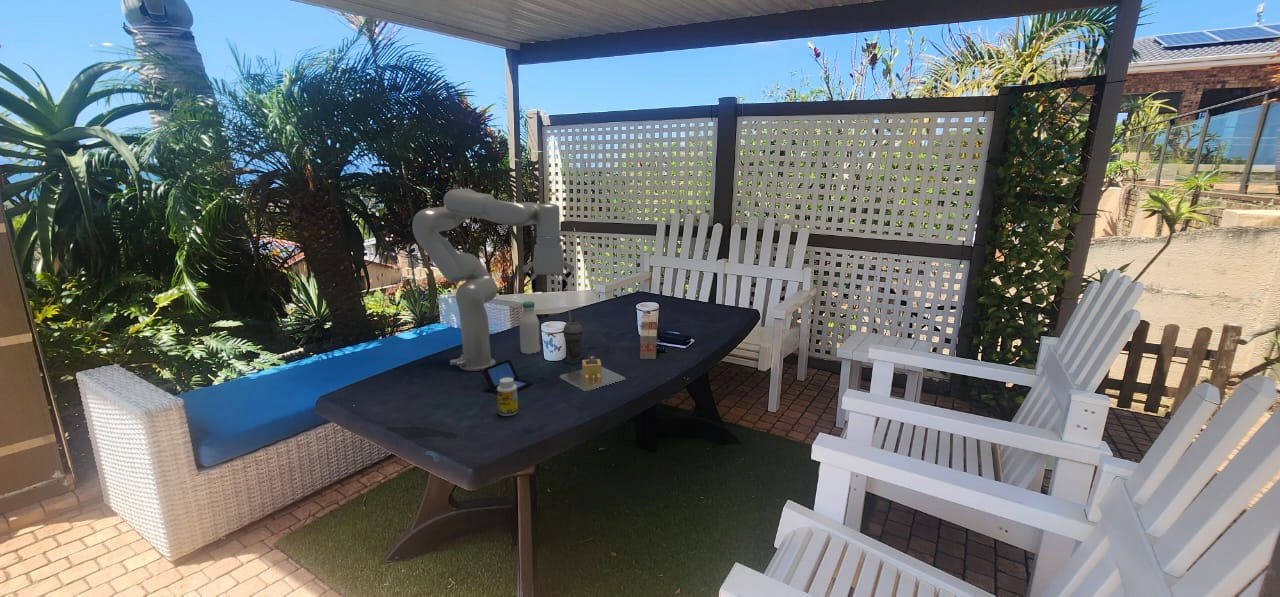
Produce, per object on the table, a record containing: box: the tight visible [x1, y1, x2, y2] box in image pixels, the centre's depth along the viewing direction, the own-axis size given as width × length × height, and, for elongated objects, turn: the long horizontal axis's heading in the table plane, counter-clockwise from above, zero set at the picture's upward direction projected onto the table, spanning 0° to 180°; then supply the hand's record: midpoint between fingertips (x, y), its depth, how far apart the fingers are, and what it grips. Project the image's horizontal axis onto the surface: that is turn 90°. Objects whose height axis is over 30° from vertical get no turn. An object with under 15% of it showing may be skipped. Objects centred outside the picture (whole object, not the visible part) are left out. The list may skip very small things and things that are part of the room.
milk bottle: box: [519, 300, 541, 355], centre depth 209 cm, size 8×8×20 cm
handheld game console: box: [482, 359, 534, 395], centre depth 173 cm, size 12×11×7 cm
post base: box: [559, 355, 626, 393], centre depth 180 cm, size 16×16×8 cm
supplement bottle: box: [496, 377, 519, 417], centre depth 154 cm, size 6×6×10 cm
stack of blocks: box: [639, 314, 658, 360], centre depth 211 cm, size 21×6×12 cm, turn 177°
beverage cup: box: [562, 309, 583, 364], centre depth 197 cm, size 7×7×20 cm
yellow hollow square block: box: [581, 358, 602, 384], centre depth 179 cm, size 10×6×5 cm, turn 9°
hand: (548, 290), depth 182 cm, fingers open, 9 cm apart
